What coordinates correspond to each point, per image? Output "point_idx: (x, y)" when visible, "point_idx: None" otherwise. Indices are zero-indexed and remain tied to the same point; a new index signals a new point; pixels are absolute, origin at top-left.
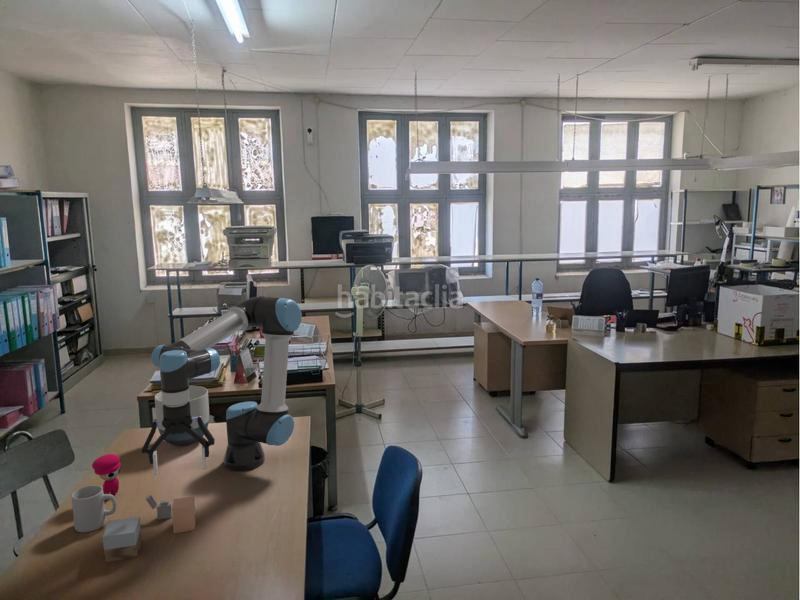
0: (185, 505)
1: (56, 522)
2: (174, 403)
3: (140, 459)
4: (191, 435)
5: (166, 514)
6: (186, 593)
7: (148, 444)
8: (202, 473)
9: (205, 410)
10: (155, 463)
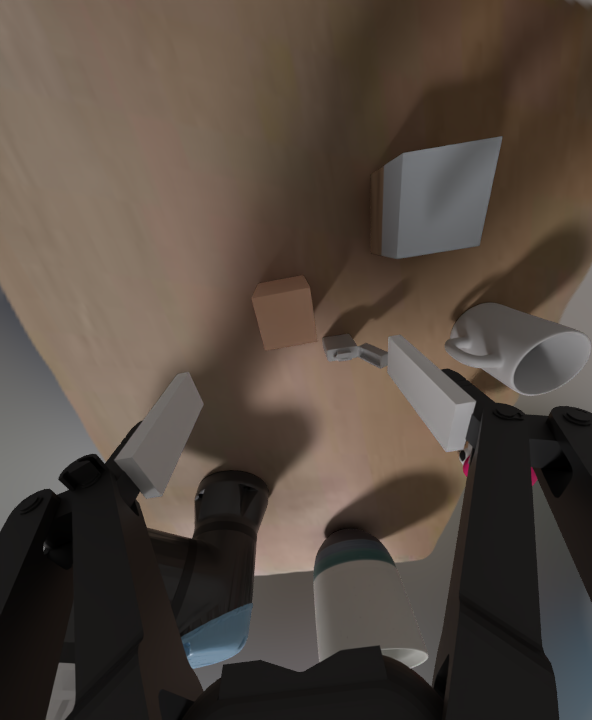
0: (275, 302)
1: None
2: None
3: (406, 502)
4: (136, 611)
5: (333, 339)
6: None
7: None
8: (298, 466)
9: (318, 612)
10: (422, 366)
